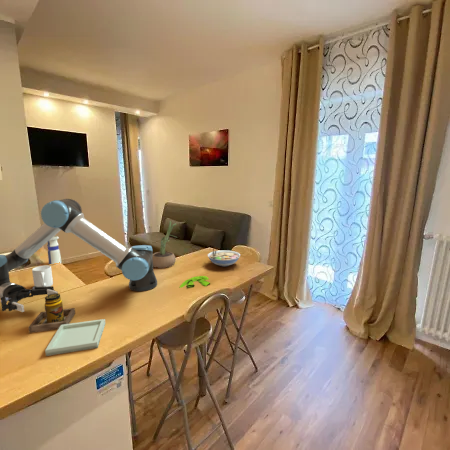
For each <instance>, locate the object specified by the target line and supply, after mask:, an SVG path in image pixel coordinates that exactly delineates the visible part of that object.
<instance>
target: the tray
mask: <svg viewBox="0 0 450 450" xmlns="http://www.w3.org/2000/svg"><path fill="white" fill-rule="evenodd" d="M105 327H106V319H105V318H104V319H103V318H102V319H94V320H87V321H80V322H72V323H71V322H70V323H69V324H63V325H61V326H60V327H59V329H57V330H56V332H55V334H54V335H53V337H52V338H51V340H50V342H49V343H48V345H47V347H46V348H45V350H44V351H45V352H44V353H45V356H46V357H48V356H49V357H51V356H55V355H60V354H61V355H62V354H68V353H73V352H74V353H76V352H80V351H87V350H92V349H98V348H99V345H100V343H101V339H102V336H103V332H104V330H105Z"/></svg>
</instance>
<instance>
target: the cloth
mask: <svg viewBox="0 0 450 450" xmlns="http://www.w3.org/2000/svg"><path fill="white" fill-rule="evenodd" d="M208 280H210V279H209V277H208V276H206V275H199V276H198V275H197V276H193V277H191V278H187V279H186V280H184V281H183V282H182V283H181V284H180V285H179V288H180V289H181V288H184V287H185V286H186V287H185V288H186V289H188V288H195V284H194V282H198V283H199V284H200V285H201V286H202V287H208V286H209V285H211V282H209V281H208Z"/></svg>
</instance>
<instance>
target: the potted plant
mask: <svg viewBox="0 0 450 450" xmlns="http://www.w3.org/2000/svg"><path fill="white" fill-rule="evenodd" d="M168 222H169V223H168V227H167V230H166V231H167V232H166V235H165V236H163V237H161V240H160V249H159V251H157V252H154V253H152V254H153V268H156V267H158V268H157V269H166V268H165V267H167V268H170V267H172V266H174V265H175V263H176V256H175V254H174V253H173V252H172V251H166V245H167V242H170V237H174V238H175V239H176V238H177V239H178V237H177V236H176V235H173V234H171V233H172V230H173V228H174V227H175V226H176V228H178V230H179V231H181V228H179V227H177V223H173V224H172V221H171V220H169V221H168Z"/></svg>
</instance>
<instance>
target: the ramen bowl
mask: <svg viewBox="0 0 450 450" xmlns="http://www.w3.org/2000/svg"><path fill="white" fill-rule="evenodd" d="M207 257H208V258H209V261H211V262H212V264H214V265H217V266H220V267H229V266H232V265H234V264H236V263H237V262H238V260H239V259H240V257H241V254H240V252H238V251H233V250H229V249H227V250H217V248H213V251H211V252H209V253H207Z"/></svg>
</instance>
